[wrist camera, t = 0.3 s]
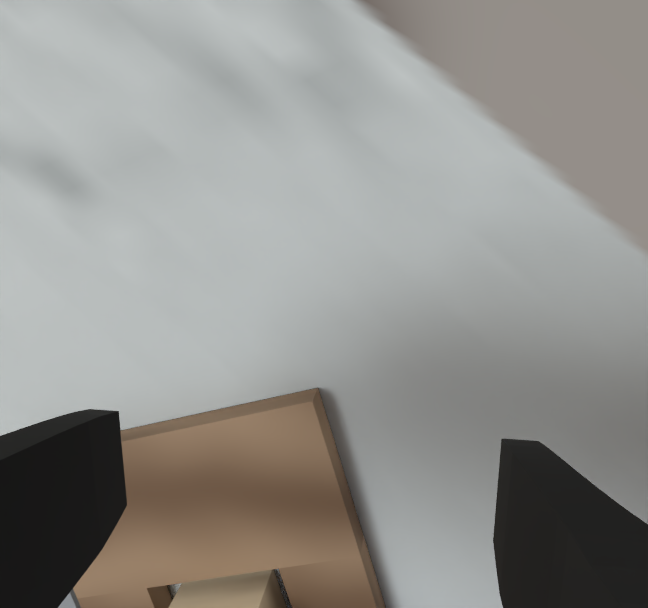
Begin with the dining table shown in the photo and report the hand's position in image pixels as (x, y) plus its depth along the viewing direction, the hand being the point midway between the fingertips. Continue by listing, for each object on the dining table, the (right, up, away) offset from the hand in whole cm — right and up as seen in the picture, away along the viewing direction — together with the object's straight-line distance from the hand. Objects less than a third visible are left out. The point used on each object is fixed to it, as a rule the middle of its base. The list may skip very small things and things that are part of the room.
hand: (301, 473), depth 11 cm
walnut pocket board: (-3, -10, +13) cm, 17 cm away
